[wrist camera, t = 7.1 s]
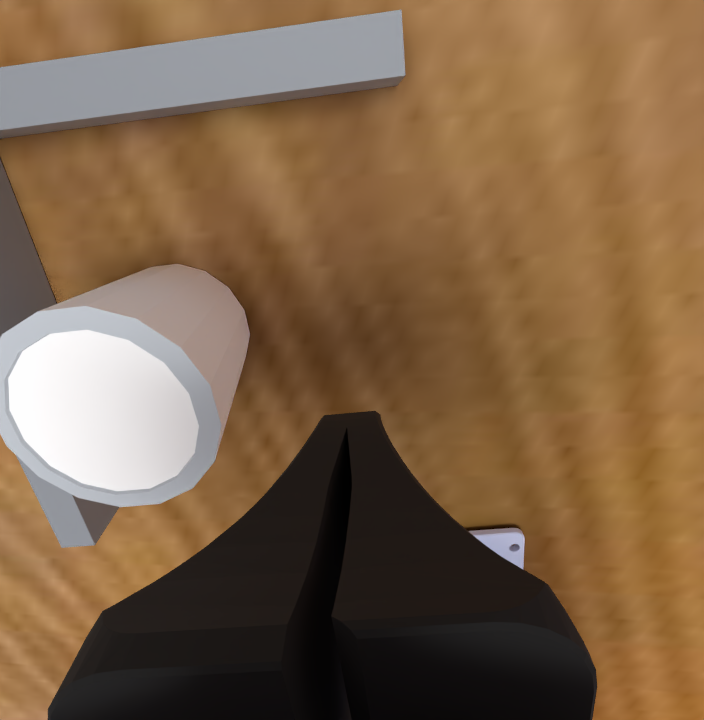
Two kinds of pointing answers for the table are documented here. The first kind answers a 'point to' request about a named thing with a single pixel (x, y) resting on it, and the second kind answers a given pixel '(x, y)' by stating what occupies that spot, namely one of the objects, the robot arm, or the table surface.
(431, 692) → the robot arm
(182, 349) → the shot glass
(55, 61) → the l-shaped bracket
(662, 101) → the table surface
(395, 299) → the table surface
